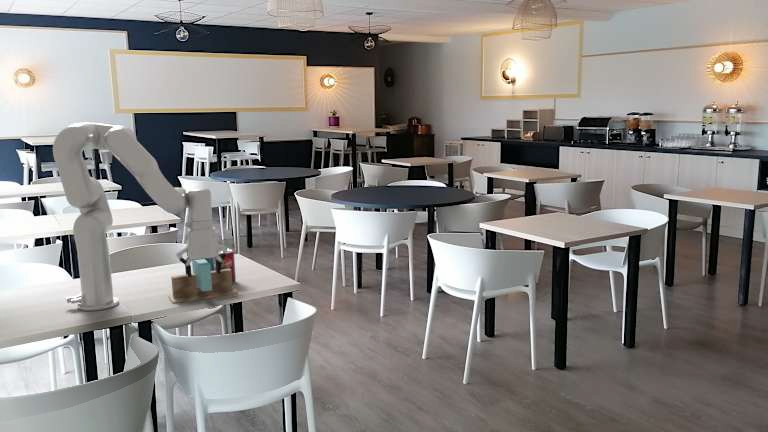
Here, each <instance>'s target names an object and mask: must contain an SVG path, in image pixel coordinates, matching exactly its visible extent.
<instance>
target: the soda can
mask: <svg viewBox="0 0 768 432" xmlns="http://www.w3.org/2000/svg"><path fill="white" fill-rule="evenodd" d="M222 252H223V250H222V249H219V256H220V255H221V253H222ZM215 261H216V258H214V267H215V270H216V262H215ZM235 263H236V261H235V251H234V250H233V249H229V248H228V252H227V254H226V256H225V257H224V259H223V260H222V262H221V268H222V270H223V269H231V270H232V285H233V284H234V283H235V282H236V281H237V280H236V264H235Z"/></svg>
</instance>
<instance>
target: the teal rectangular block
mask: <svg viewBox="0 0 768 432" xmlns="http://www.w3.org/2000/svg"><path fill="white" fill-rule="evenodd" d="M191 263H192V264H191V268H192V274H193V273H195V274H196V284H197V286H198V287H199V288H200V289H201V290H202V292H203V291H210V290H212V281H211V266H210V263H208V262H207V261H206V260H205V259H201V260H192V262H191Z"/></svg>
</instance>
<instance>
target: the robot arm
mask: <svg viewBox="0 0 768 432" xmlns="http://www.w3.org/2000/svg"><path fill="white" fill-rule="evenodd" d="M89 149H94V150H95V149H97V150H104V151H109V152H110V153H111V154H112V155H113V156H114V157H115V158H116V159H117V160H118V162H120V163H121V164H122V165H123V166H124V167H125V168H126V170H128V172H130V174H131V175H132V176H133V177H134V178H135V179H136V181H137V182H138V184H139V185H140V186H141V187H142V189H143V190H144V191H145V193H147V194H148V196H149V197H150V198H151V200H153V201H154V202H155V203H156V204H157V205H158V207H159V208H160V209H162V210H163V211H164V212H167V214H173V215H175V214H178V213H181V212H182V211H183V210H184V209H188V222H185V223H184V227H185V228H189V229H187V233H186V246H185V247H184V248H182V249H180V250H179V251H177V252H176V253H175V255H176V257H177V258H178V260H179V261H180V262H181V263H182V264H183V265H184V266H185V274H186V275H188V277H192V275H191V274H192V265H191V263H192V260H201V259H209V258H216V261H215V262H216V272H217V273H220V270H222V268H221V262H222V260H223V259H224V257H225V256H226V254H227V252H228V249H229V247H228V246H226V245H223V244H220V243H219V239H218V234H217V229H216V228H215V227H214V226H213V222H214V221H213V209H212V208H213V207H212V192H211V189H209V188H207V187H195V188H189V187H188V188H186V187H178V186H177V187H174V186H173V185H172V184H171V183H170V182H169V180H167V179H166V177H165V176H164V175H163V173H162V171H161V169H160V168H159V164H158V162H157V159H155V157H153V156H152V155H151V153H150V152H148V151H147V149H146V148H145V147H144V146H143V145H142V144H141V143H140V142H139V141H138V139H137V136H136V133H135V131H133V129H132V128H130V127H127V126H126V125H112V124H106V123H105V124H104V123H96V122H77V123H73V124H70V125H67V126H66V127H64V128H63V129H62V130H60V132H59V133H58V134H57V135H56V136H55V139H54V141H53V143H52V153H53V159H54V162H55V165H56V168H57V171H58V175H59V178H60V179H59V180H60V182H61V184H62V188H63V190H64V195H65V198H66V201H67V202H68V204H69V205H70V206H71V207H73V208H74V209H79V213H80V214H79V215H78V217H76V219H75V220H74V223H73V228H72V231H73V232H72V234H73V238H74V241H75V247H76V252H77V261H78V270H79V281H80V290H81V291H80V292H79V294H77V295H75V296H68V297H67V296H66V303H67V304H70V303H71V304H77V309H78V310H81V311H87V312H88V311H90V312H91V311H100V310H106V309H110V308H112V307H115V306H117V305H119V301H120V300H119V298H118V297H116V296H114V290H113V279H112V278H113V277H112V269H111V257H110V248H109V243H108V238H107V233H108V232H109V231H110V230H111V229H112V226H113V223H114V222H113V219H114V218H113V215H112V212H111V208H110V205H109V202H108V199H107V196H106V192H105V189H104V186H103V185H102V184H101V181H99V180H98V179H96V178H94V177H92V176H91V175H90V173H89V170H88V165H87V163H86V161H85V158H84V156H83V151H84V150H89ZM219 250H223V252H222V253H221V255H220V256H219ZM185 253H186V258H183V255H184V254H185Z"/></svg>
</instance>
